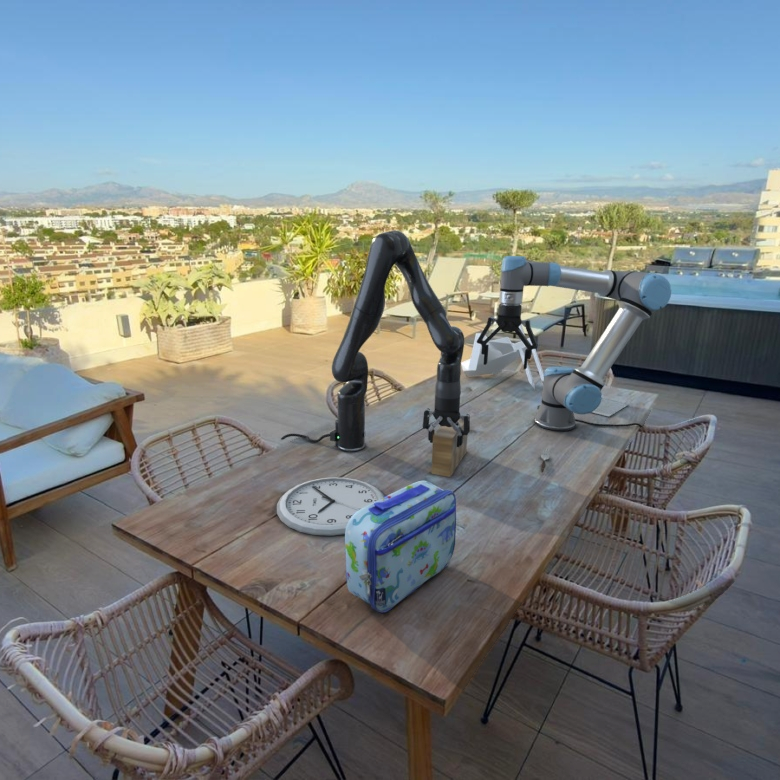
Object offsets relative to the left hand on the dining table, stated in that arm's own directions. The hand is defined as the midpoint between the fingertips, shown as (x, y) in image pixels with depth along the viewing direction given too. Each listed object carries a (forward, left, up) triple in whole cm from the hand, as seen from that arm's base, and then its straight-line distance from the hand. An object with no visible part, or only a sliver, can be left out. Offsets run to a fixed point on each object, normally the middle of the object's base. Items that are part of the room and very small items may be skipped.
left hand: (445, 444), depth 161 cm
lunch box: (+15, -54, -9) cm, 57 cm away
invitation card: (+31, +94, -9) cm, 99 cm away
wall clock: (-17, -36, -9) cm, 40 cm away
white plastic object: (-19, +104, -9) cm, 106 cm away
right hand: (+6, +33, +19) cm, 38 cm away
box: (-1, +7, -9) cm, 12 cm away
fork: (+25, +23, -9) cm, 35 cm away
